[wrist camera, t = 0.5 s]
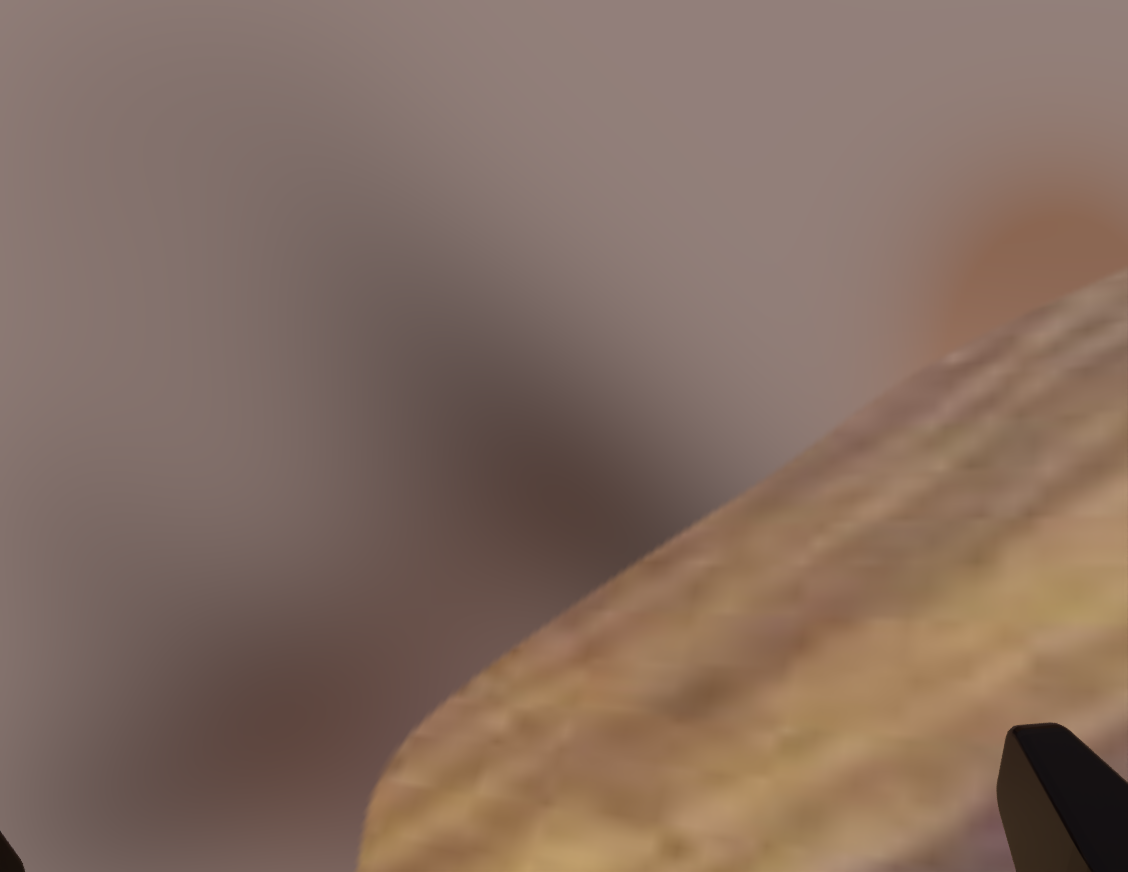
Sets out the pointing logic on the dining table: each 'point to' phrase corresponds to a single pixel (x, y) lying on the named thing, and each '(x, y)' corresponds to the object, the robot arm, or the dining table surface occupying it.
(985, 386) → the dining table surface
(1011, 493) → the dining table surface
